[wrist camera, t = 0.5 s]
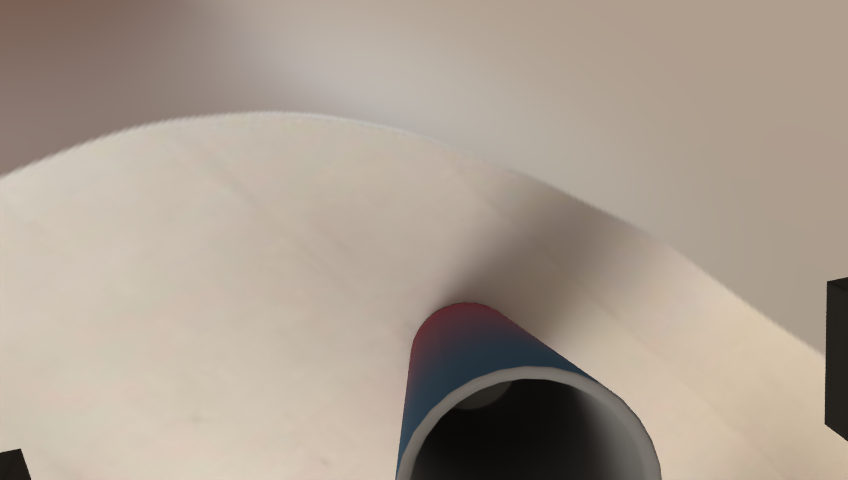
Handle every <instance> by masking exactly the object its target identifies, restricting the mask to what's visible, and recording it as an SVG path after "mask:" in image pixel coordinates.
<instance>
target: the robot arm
mask: <svg viewBox="0 0 848 480" xmlns="http://www.w3.org/2000/svg"><path fill="white" fill-rule="evenodd" d="M826 313H827V315H826V373H825V425H827V426H828V427H829V428H831V429H832V430H833V431H835V432H836V433H837V434H839V435H840V436H841V437H843V438H844V439H845V440H847V441H848V277H846V278H842V279H837V280H832V281H828V282H827V312H826ZM0 480H31V477H30V474H29V472H28V469H27V466H26V463H25V460H24V457H23V454H22V451H21V449H16V450H11V451H6V452H1V453H0Z"/></svg>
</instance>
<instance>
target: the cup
mask: <svg viewBox="0 0 848 480" xmlns="http://www.w3.org/2000/svg"><path fill="white" fill-rule="evenodd" d="M395 480H662V478H661V470H660V463H659V460H658V457H657V454H656V451H655V448H654V445H653V442H652V440H651V438H650V436H649V435H648V433H647V431H646V429H645V428H644V426H643V424H642V423H641V421H640V419H639V418H638V417H637V415H636V414H635V413H634V412H633V411H632V410H631V409H630V408H629V406H628V405H627V404H626V403H625V402H624V401H623V400H622V399H621V398H620V397H618V396H617V395H616V394H614V393H613V392H612V391H610V390H609V389H608V388H606V387H605V386H604V385H602V384H601V383H599V382H598V381H597V380H595V379H594V378H592V377H591V376H589V375H588V374H587V373H585V372H584V371H582V370H581V369H579V368H578V367H577V366H575V365H574V364H572V363H571V362H569V361H568V360H567V359H565V358H564V357H562V356H561V355H559V354H558V353H557V352H555V351H554V350H552V349H551V348H549V347H548V346H547V345H545V344H544V343H542V342H541V341H539V340H538V339H537V338H535V337H534V336H532V335H531V334H529V333H528V332H527V331H525V330H524V329H522V328H521V327H519V326H518V325H517V324H515V323H514V322H512V321H511V320H509V319H508V318H507V317H505V316H504V315H502V314H501V313H499V312H498V311H497V310H494V309H492V308H490V307H488V306H486V305H482V304H477V303H458V304H453V305H450V306H447V307H444V308H442V309H441V310H439V311H437V312H436V313H434V314H433V315H431V316H430V317H429V318H428V319H427V320H426V321H425V322H424V323H423V325H422V326H421V327H420V329H419V330H418V332H417V334H416V336H415V338H414V341H413V345H412V349H411V355H410V363H409V371H408V379H407V387H406V396H405V404H404V412H403V420H402V429H401V437H400V445H399V453H398V461H397V470H396V478H395Z"/></svg>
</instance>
